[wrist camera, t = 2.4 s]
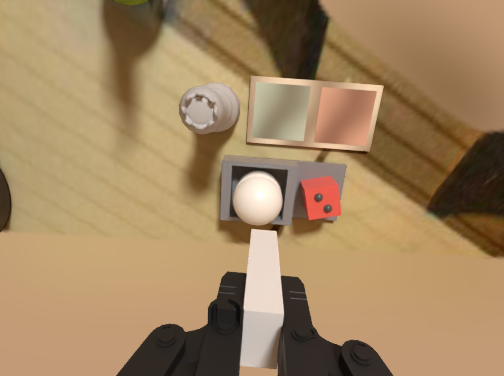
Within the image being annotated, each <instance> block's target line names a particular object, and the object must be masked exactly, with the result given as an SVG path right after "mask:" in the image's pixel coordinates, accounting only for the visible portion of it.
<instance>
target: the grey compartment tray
mask: <svg viewBox="0 0 504 376" xmlns="http://www.w3.org/2000/svg"><path fill="white" fill-rule="evenodd" d="M346 167H347V165H346V164H336V163H323V162H310V161H297V160H284V159H271V158H258V157H245V156H232V155H225V157H224V159H223V160H222V184H221V210H220V220H228V221H240V222H244V221H243V220H242V219H241V218H240V217H239V216H238V215H237V213H236V212H235V209H234V206H233V195H234V192H235V188H236V185H237V183H238V181H239V179H240V178H241V177H242V176H243V175H245V174H246V173H248V172H251V171H256V170H260V171H265V172H268V173H270V174H271V175H273V176H274V177H275V178H276V180H277V181H278V183H279V185H280V189H281V193H282V200H283V201H282V208H281V211H280V213H279V214H278V216H277V217H276V218H275V219H274V220H273V221H271V222H270V223H268V224H278V225H291V221H292V217H295V218H307V219H309V220H314V219H320V220H333V221H336V220H337V216H339V215H341V207H340V198H341V193H342V188H343V183H344V177H345V172H346Z"/></svg>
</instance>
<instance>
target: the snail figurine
mask: <svg viewBox="0 0 504 376" xmlns="http://www.w3.org/2000/svg"><path fill="white" fill-rule="evenodd" d="M114 1H116V2H118V3H120V4H124V5H131V6H133V5H140V4H143V3H145V2H147V1H148V0H114Z"/></svg>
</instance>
